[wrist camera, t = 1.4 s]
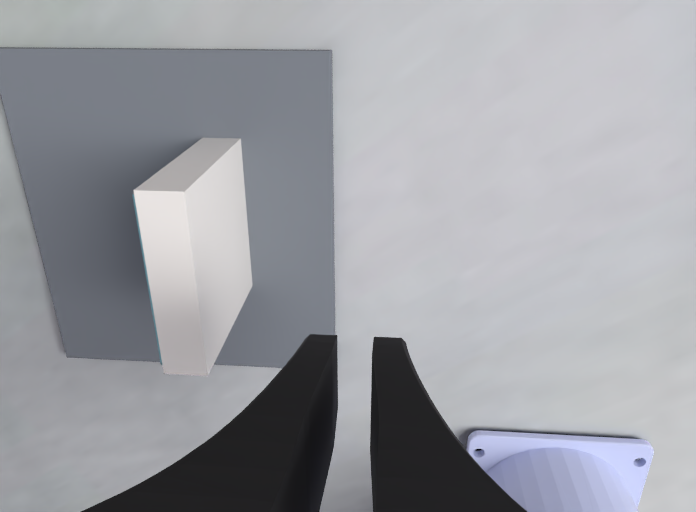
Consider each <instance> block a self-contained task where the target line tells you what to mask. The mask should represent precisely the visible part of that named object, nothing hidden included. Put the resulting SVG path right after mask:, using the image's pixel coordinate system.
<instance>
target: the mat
mask: <svg viewBox="0 0 696 512" xmlns="http://www.w3.org/2000/svg"><path fill="white" fill-rule="evenodd" d="M0 94H1V98H2V102H3V106H4V110H5V114H6V117H7V121H8V125H9V129H10V133H11V137H12V141H13V145H14V149H15V153H16V157H17V161H18V165H19V169H20V173H21V177H22V181H23V185H24V189H25V193H26V197H27V201H28V205H29V209H30V213H31V217H32V221H33V225H34V229H35V233H36V237H37V241H38V245H39V249H40V253H41V257H42V261H43V265H44V269H45V273H46V277H47V281H48V285H49V289H50V293H51V296H52V300H53V304H54V308H55V312H56V316H57V320H58V324H59V328H60V332H61V336H62V340H63V344H64V348H65V352H66V356H67V357H69V358H90V359H110V360H131V361H152V362H160V357H159V351H158V345H157V339H156V333H155V327H154V321H153V315H152V309H151V303H150V297H149V291H148V285H147V279H146V273H145V267H144V261H143V256H142V250H141V244H140V238H139V232H138V226H137V220H136V214H135V208H134V202H133V196H132V195H133V194H134V191H133V190H134V189H136V188H137V187H138V186H140V185H141V184H142V183H144V182H145V181H146V180H148V179H149V178H150V177H152V176H153V175H154V174H156V173H157V172H158V171H160V170H161V169H162V168H164V167H165V166H166V165H167V164H169V163H170V162H171V161H173V160H174V159H175V158H177V157H178V156H179V155H181V154H182V153H183V152H185V151H186V150H187V149H189V148H190V147H191V146H193V145H194V144H195V143H196V142H198V141H199V140H200V139H202V138H241V147H242V160H243V172H244V185H245V197H246V210H247V222H248V235H249V247H250V260H251V272H252V285H253V286H252V288H251V290H250V292H249V294H248V296H247V298H246V300H245V302H244V304H243V306H242V308H241V310H240V312H239V314H238V316H237V318H236V320H235V322H234V324H233V326H232V328H231V330H230V332H229V334H228V336H227V338H226V340H225V342H224V344H223V347H222V349H221V351H220V353H219V355H218V357H217V359H216V361H215V363H214V365H234V366H255V367H275V368H283V367H284V366H285V365H286V364H287V362H288V361H289V360H290V359H291V357H292V356H293V355H294V353H295V352H296V351H297V349H298V348H299V347H300V345H301V344H302V343H303V341H304V340H305V338H306V337H308V336H309V335H310V334H320V335H335V279H334V188H333V96H332V50H265V49H139V48H14V47H0Z"/></svg>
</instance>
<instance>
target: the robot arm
mask: <svg viewBox="0 0 696 512" xmlns="http://www.w3.org/2000/svg"><path fill="white" fill-rule="evenodd" d="M337 410H338V380H337V335H320V334H310V335H309V336H308V337H306V338H305V340H304V341H303V343H302V344H301V345H300V347H299V348H298V349H297V351H296V352H295V353H294V355H293V356H292V357H291V359H290V360H289V361H288V362H287V364H286V365H285V366H284V367H283V368H282V370H281V371H280V372H279V373H278V374H277V375H276V376H275V378H274V379H273V380H272V381H271V382H270V383H269V385H268V386H267V387H266V388H265V389H264V390H263V391H262V392H261V393H260V394H259V395H258V396H257V397H256V398H255V399H254V400H253V401H252V402H251V403H250V404H249V405H248V406H247V407H246V408H245V409H244V410H243V411H242V412H241V413H240V414H239V415H238V416H236V417H235V418H234V419H233V420H232V421H231V422H230V423H229V424H227V425H226V426H225V427H224V428H223V429H221V430H220V431H219V432H218V433H217V434H215V435H214V436H213V437H212V438H210V439H209V440H207V441H206V442H205V443H203V444H202V445H200V446H199V447H198V448H196V449H195V450H193V451H192V452H190V453H189V454H188V455H186V456H185V457H183V458H182V459H180V460H179V461H177V462H176V463H174V464H172V465H171V466H169V467H167V468H166V469H164V470H162V471H161V472H159V473H158V474H156V475H154V476H152V477H150V478H149V479H147V480H145V481H143V482H141V483H140V484H138V485H136V486H134V487H132V488H130V489H128V490H126V491H124V492H122V493H120V494H118V495H116V496H114V497H112V498H109V499H107V500H105V501H103V502H101V503H99V504H97V505H95V506H92V507H90V508H88V509H86V510H84V511H81V512H319V510H320V505H321V501H322V497H323V492H324V488H325V484H326V479H327V475H328V470H329V466H330V461H331V457H332V452H333V448H334V439H335V430H336V420H337ZM475 449H482V450H481V451H475ZM653 454H654V450H653V448H652V446H651V444H650V443H649V442H648V441H647V440H643V439H627V438H609V437H591V436H573V435H555V434H537V433H518V432H500V431H482V430H479V431H474V432H472V433H471V434H470V435H469V436H468V441H467V449H465V448H464V447H463V445H462V444H461V443H460V442H459V440H458V439H457V438H456V436H455V435H454V434H453V432H452V431H451V430H450V428H449V427H448V425H447V424H446V422H445V421H444V419H443V418H442V416H441V415H440V413H439V412H438V410H437V409H436V407H435V405H434V404H433V402H432V400H431V399H430V397H429V395H428V393H427V391H426V390H425V388H424V386H423V384H422V382H421V380H420V378H419V376H418V374H417V372H416V370H415V368H414V365H413V363H412V361H411V358H410V355H409V353H408V349H407V346H406V342H405V341H404V340H403V339H402V338H388V337H374V342H373V352H372V393H371V438H370V455H371V476H372V496H373V512H639V511H638V509H637V508H638V504H639V501H640V498H641V494H642V491H643V488H644V484H645V481H646V478H647V474H648V471H649V468H650V464H651V461H652V458H653ZM637 458H641V459H639V460H636V459H637Z"/></svg>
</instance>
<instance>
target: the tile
mask: <svg viewBox="0 0 696 512" xmlns="http://www.w3.org/2000/svg"><path fill="white" fill-rule="evenodd" d="M133 191H134V194H133V195H132V196H133V202H134V208H135V214H136V220H137V226H138V232H139V238H140V244H141V250H142V256H143V261H144V267H145V273H146V279H147V285H148V291H149V297H150V303H151V309H152V315H153V321H154V327H155V333H156V339H157V345H158V351H159V357H160V363H161V365H163V371H164V374H176V375H196V376H208V375H209V373H210V371H211V369H212V367H213V365H214V363H215V361H216V359H217V357H218V355H219V353H220V351H221V349H222V347H223V344H224V342H225V340H226V338H227V336H228V334H229V332H230V330H231V328H232V326H233V324H234V322H235V320H236V318H237V316H238V314H239V312H240V310H241V308H242V306H243V304H244V302H245V300H246V298H247V296H248V294H249V292H250V290H251V288H252V286H253V285H252V272H251V260H250V247H249V235H248V222H247V210H246V197H245V185H244V172H243V160H242V147H241V138H202V139H200V140H199V141H198V142H196V143H195V144H194V145H193V146H191V147H190V148H189V149H187V150H186V151H185V152H183V153H182V154H181V155H179V156H178V157H177V158H175V159H174V160H173V161H171V162H170V163H169V164H167V165H166V166H165V167H164V168H162V169H161V170H160V171H158V172H157V173H156V174H154V175H153V176H152V177H150V178H149V179H148V180H146V181H145V182H144V183H142V184H141V185H140V186H138V187H137V188H136V189H134V190H133Z"/></svg>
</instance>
